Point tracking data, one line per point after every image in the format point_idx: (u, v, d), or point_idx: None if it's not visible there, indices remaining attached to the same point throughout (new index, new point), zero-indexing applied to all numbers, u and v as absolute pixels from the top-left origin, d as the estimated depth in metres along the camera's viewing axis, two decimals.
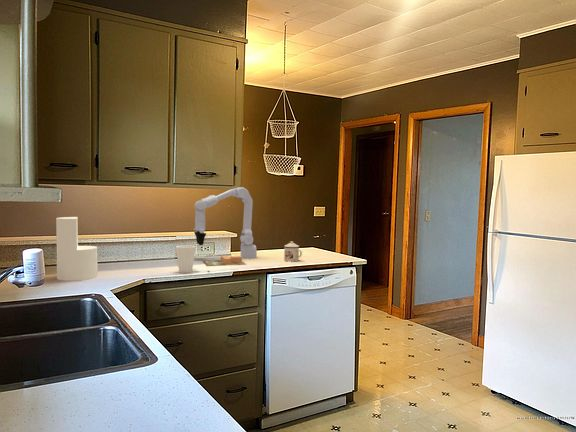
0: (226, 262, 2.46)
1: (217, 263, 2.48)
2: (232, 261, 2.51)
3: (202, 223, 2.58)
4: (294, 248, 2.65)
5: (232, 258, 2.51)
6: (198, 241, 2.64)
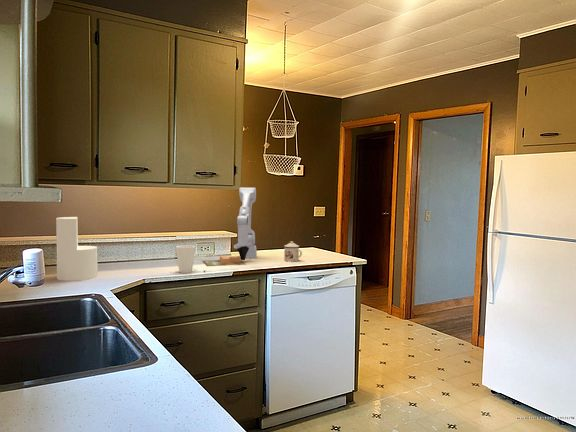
0: (225, 262, 2.45)
1: (217, 263, 2.48)
2: (231, 261, 2.51)
3: (241, 239, 2.51)
4: (294, 248, 2.65)
5: (231, 258, 2.51)
6: None
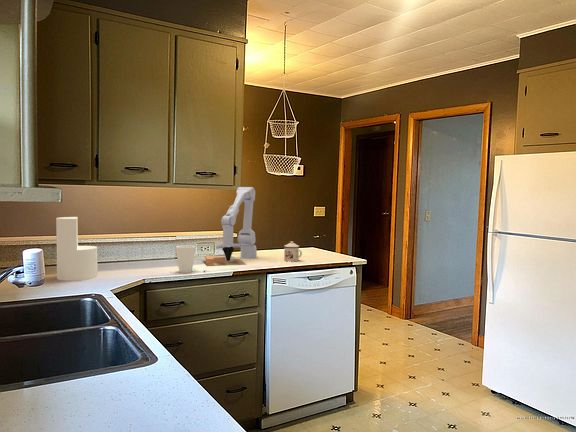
0: (209, 262, 2.44)
1: (217, 263, 2.48)
2: (216, 261, 2.49)
3: (224, 239, 2.49)
4: (294, 248, 2.65)
5: (216, 258, 2.49)
6: None
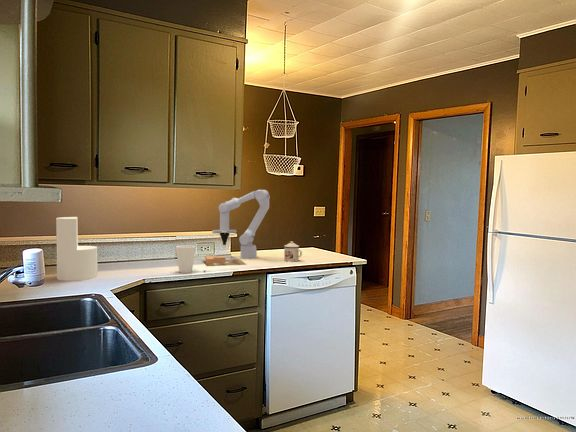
0: (209, 262, 2.44)
1: (217, 263, 2.48)
2: (216, 261, 2.49)
3: (220, 225, 2.72)
4: (294, 248, 2.65)
5: (216, 258, 2.49)
6: None
